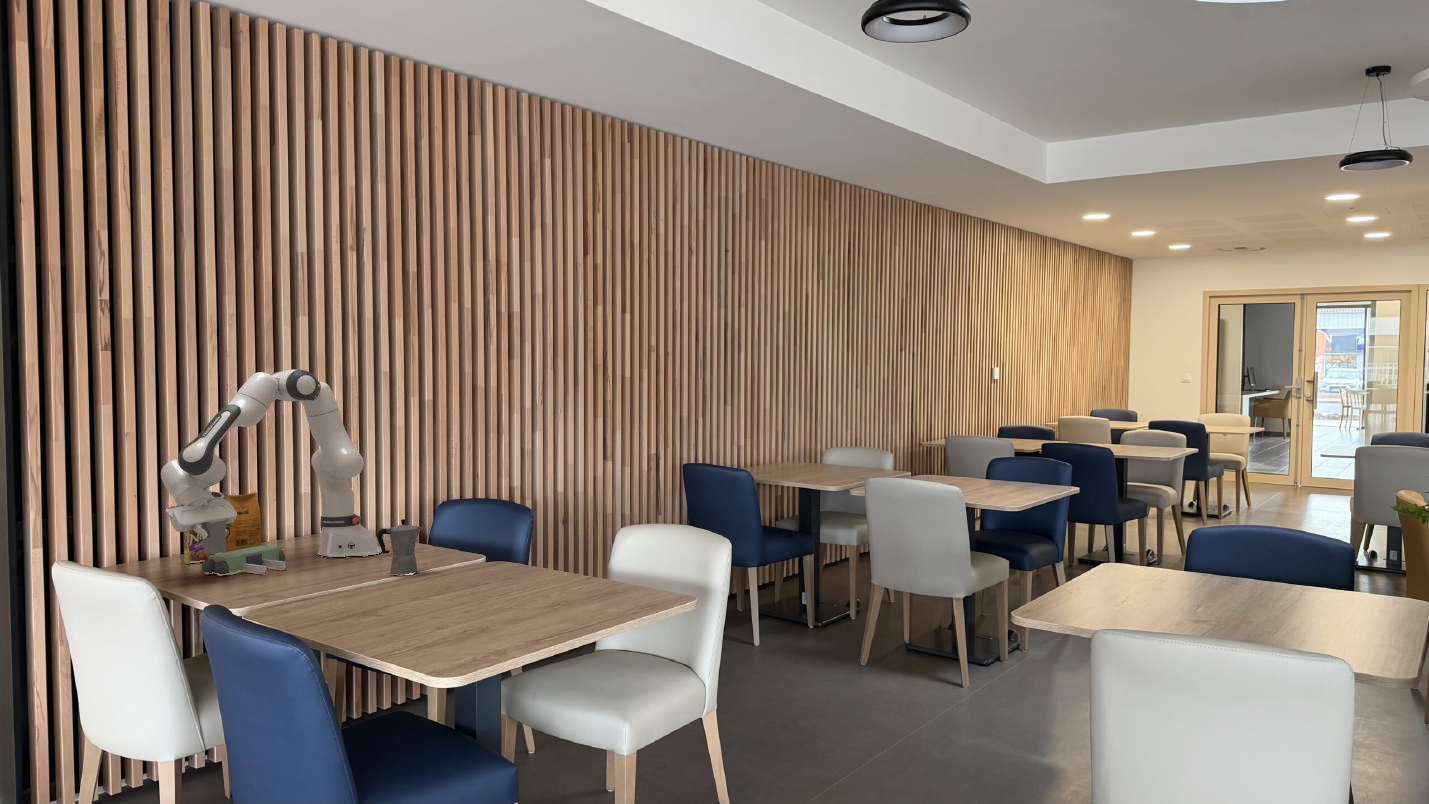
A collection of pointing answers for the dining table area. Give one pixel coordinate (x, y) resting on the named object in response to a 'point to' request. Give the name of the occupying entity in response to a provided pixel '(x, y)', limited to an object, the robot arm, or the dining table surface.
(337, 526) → the robot arm
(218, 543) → the grey upright pillar
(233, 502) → the coffee package
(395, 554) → the coffeepot
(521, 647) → the dining table surface
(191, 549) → the candy box
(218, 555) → the mower deck
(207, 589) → the dining table surface
